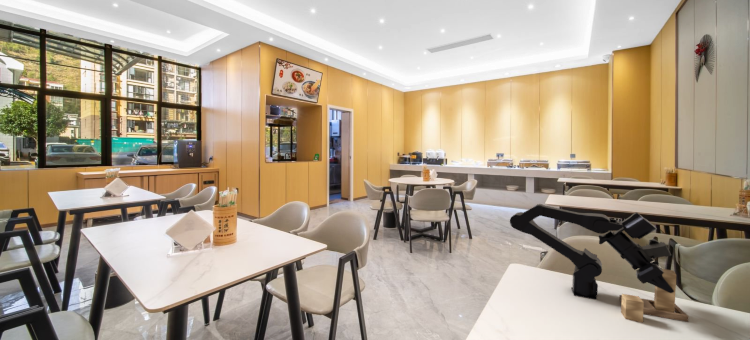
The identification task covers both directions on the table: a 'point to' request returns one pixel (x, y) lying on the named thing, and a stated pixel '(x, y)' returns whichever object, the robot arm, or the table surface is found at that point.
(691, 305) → the table surface
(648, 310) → the socket board
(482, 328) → the table surface
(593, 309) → the table surface
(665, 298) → the long peg
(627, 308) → the short peg
